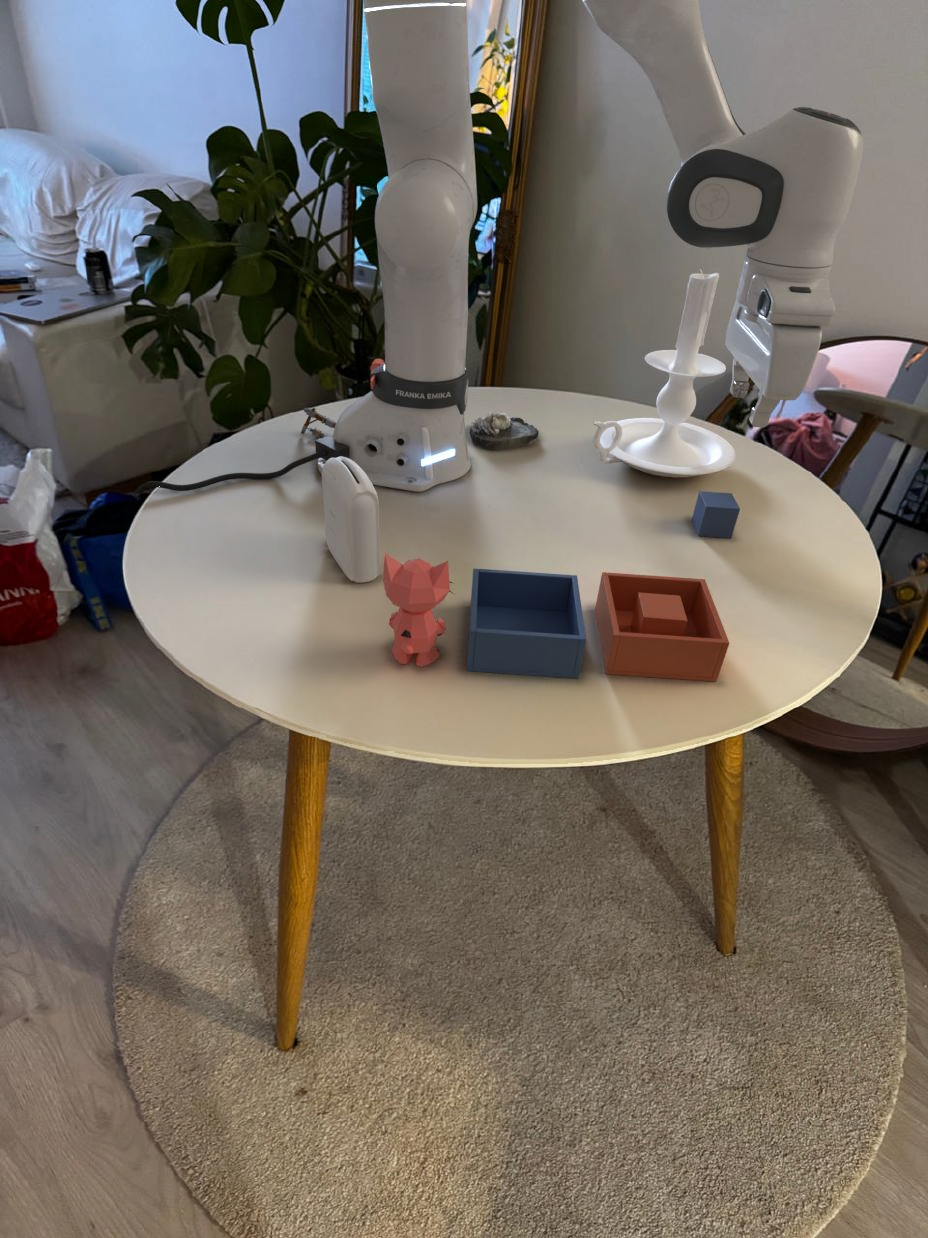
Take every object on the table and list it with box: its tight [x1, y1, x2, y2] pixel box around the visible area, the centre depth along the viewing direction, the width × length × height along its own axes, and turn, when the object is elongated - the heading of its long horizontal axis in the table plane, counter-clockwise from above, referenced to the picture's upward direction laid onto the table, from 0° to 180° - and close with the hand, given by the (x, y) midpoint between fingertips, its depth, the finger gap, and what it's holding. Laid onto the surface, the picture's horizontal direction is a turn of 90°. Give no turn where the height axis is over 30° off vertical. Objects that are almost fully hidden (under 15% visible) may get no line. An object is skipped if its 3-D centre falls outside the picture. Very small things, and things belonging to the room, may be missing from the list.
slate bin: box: [466, 567, 587, 679], centre depth 78 cm, size 11×11×5 cm
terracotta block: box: [631, 593, 687, 636], centre depth 79 cm, size 4×4×4 cm
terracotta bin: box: [594, 571, 730, 683], centre depth 79 cm, size 11×11×5 cm
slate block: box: [691, 490, 741, 539], centre depth 100 cm, size 4×4×4 cm
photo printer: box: [321, 456, 381, 583], centre depth 86 cm, size 10×4×12 cm, turn 26°
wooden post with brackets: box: [300, 407, 337, 438], centre depth 118 cm, size 2×8×4 cm, turn 88°
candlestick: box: [593, 268, 737, 478], centre depth 108 cm, size 21×25×28 cm
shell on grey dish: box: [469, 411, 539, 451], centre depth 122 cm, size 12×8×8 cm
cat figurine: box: [382, 552, 456, 668], centre depth 73 cm, size 7×7×12 cm
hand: (746, 409), depth 91 cm, fingers open, 8 cm apart
